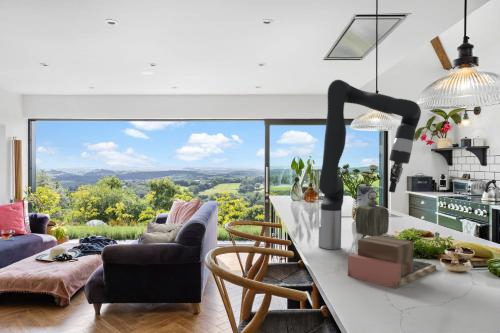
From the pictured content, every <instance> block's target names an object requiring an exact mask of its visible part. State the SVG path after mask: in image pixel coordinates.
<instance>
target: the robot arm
mask: <svg viewBox="0 0 500 333" xmlns="http://www.w3.org/2000/svg"><path fill="white" fill-rule="evenodd" d="M345 104H354V105H359V106H363V107H366V108H369V109H371V110H375V111H376V112H381V113H384V114H389V115H392V114H393V115H396V116H400V117H401V121H400V124H399V125H398V126H397V128H396V132H395V136H394V140H393V142H392V146H391V151H390V155H389V161H391V162H393V165H391V167H390V177H389V181H390V185H389V188H388V192H390V193H392V194H394V193H395V192H396V189H397V185H398V183H399V182H400V179H401V177H402V176H401V175H402V174H403V172H404V171H403V170H404V167H403V164H405V165H406V164H410V163H409V162H410V159H411V155H412V151H413V145H414V138H415V134H416V130H417V127H418V125H419V121H420V119H421V115H422V109H421V107H420V106H419V104H418V103H417V102H415V101H413V100H410V99H405V98H396V97H393V96H390V95H386V94H381V93H377V92H369V91H364V90H362V89H359V88H357V87H355V86H352V85H350V84H349V83H348V82H347V81H344V80H342V79H334V80H333V81H331V82H330V84H329V86H328V87H327V113H326V124H325V131H324V132H325V133H324V142H323V143H324V144H323V155H322V166H321V170H320V176H319V180H318V187H319V190H320V192H321V193H322V194H323V195H324V196H323V199H322V202H321V204H320V225H319V226H318V245H317V246H318V248H322V249H327V250H339V249H341V248H342V210H343V209H342V208H343V207H342V206H343V203H344V191H345V186H344V185H345V183H344V180H343V178H342V177H341V176H340V175H339V174H338V172H339V171H338V170H339V163H340V161H341V158H342V156H343V153H344V150H345V146H346V138H347V127H346V121H345V115H344V110H345Z"/></svg>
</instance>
